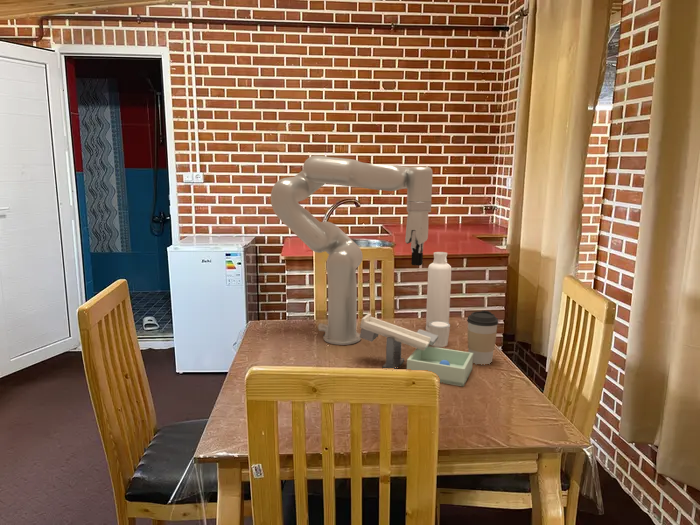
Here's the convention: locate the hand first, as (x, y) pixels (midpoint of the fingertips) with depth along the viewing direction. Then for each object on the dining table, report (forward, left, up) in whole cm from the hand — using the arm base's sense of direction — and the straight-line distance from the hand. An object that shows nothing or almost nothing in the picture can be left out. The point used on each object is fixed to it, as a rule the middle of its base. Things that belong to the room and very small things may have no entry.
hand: (416, 264), depth 164 cm
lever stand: (-1, -18, -27) cm, 33 cm away
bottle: (+3, +19, -27) cm, 33 cm away
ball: (+14, -18, -25) cm, 34 cm away
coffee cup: (+22, -4, -27) cm, 35 cm away
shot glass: (+7, +5, -27) cm, 29 cm away
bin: (+13, -18, -27) cm, 35 cm away
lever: (-1, -15, -21) cm, 26 cm away
